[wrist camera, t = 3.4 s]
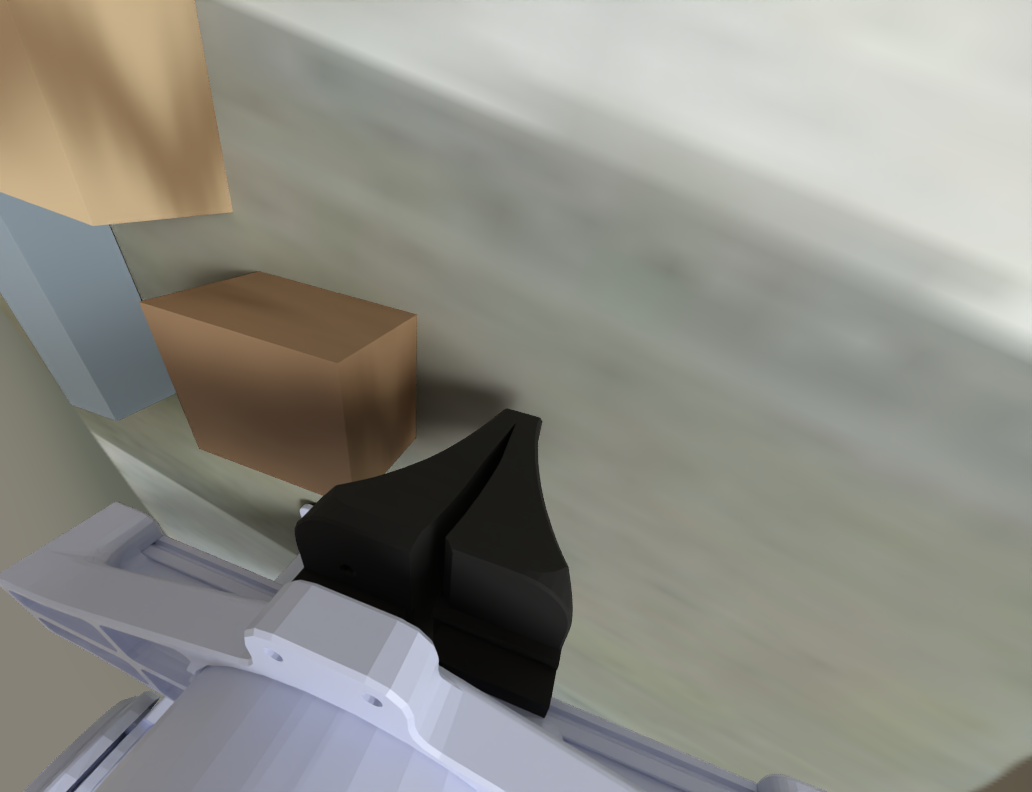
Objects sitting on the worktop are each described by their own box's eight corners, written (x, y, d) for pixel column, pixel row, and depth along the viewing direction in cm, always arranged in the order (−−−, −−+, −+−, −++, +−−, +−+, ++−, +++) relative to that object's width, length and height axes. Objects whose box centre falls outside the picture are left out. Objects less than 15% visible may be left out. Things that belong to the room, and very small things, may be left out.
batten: (179, 391, 21) (116, 421, 18) (138, 377, 21) (71, 404, 19) (-40, -126, 11) (-241, -213, 8) (-108, -127, 11) (-316, -210, 9)
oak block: (237, 211, 14) (93, 226, 10) (89, 161, 15) (-94, 157, 11) (198, -12, 11) (-35, -108, 7) (9, -62, 12) (-288, -171, 8)
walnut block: (417, 436, 17) (355, 507, 14) (289, 393, 18) (199, 448, 15) (419, 313, 14) (337, 363, 10) (262, 270, 15) (138, 301, 11)
